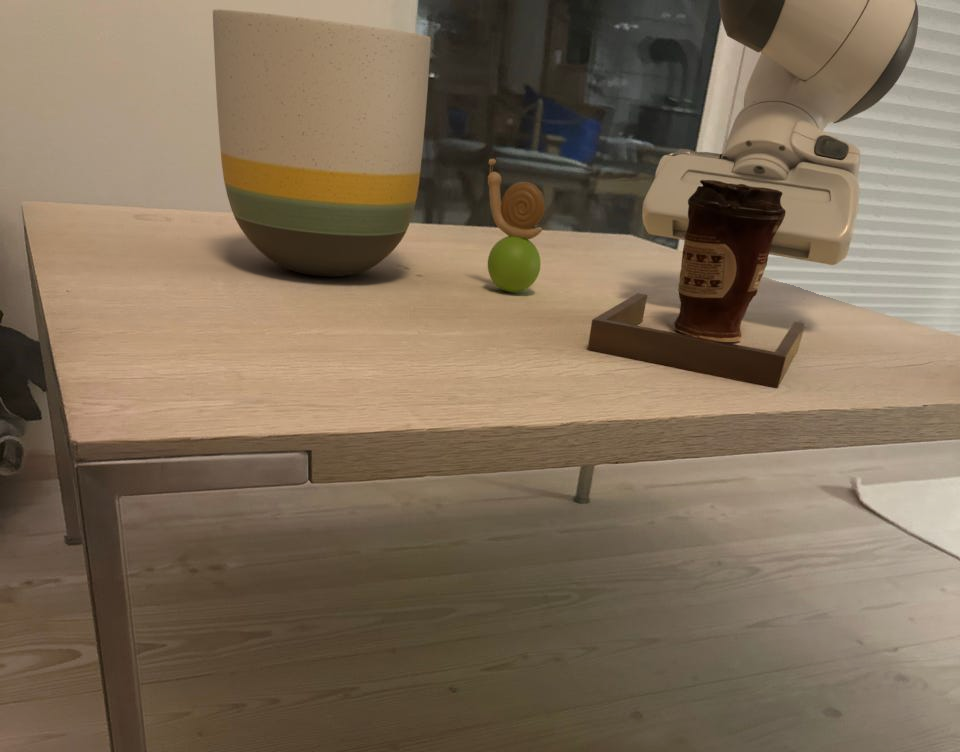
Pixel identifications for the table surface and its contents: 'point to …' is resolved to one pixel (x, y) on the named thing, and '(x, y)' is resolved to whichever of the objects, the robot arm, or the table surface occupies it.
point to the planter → (320, 136)
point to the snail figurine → (515, 233)
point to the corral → (689, 347)
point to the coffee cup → (724, 256)
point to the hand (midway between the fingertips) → (725, 279)
